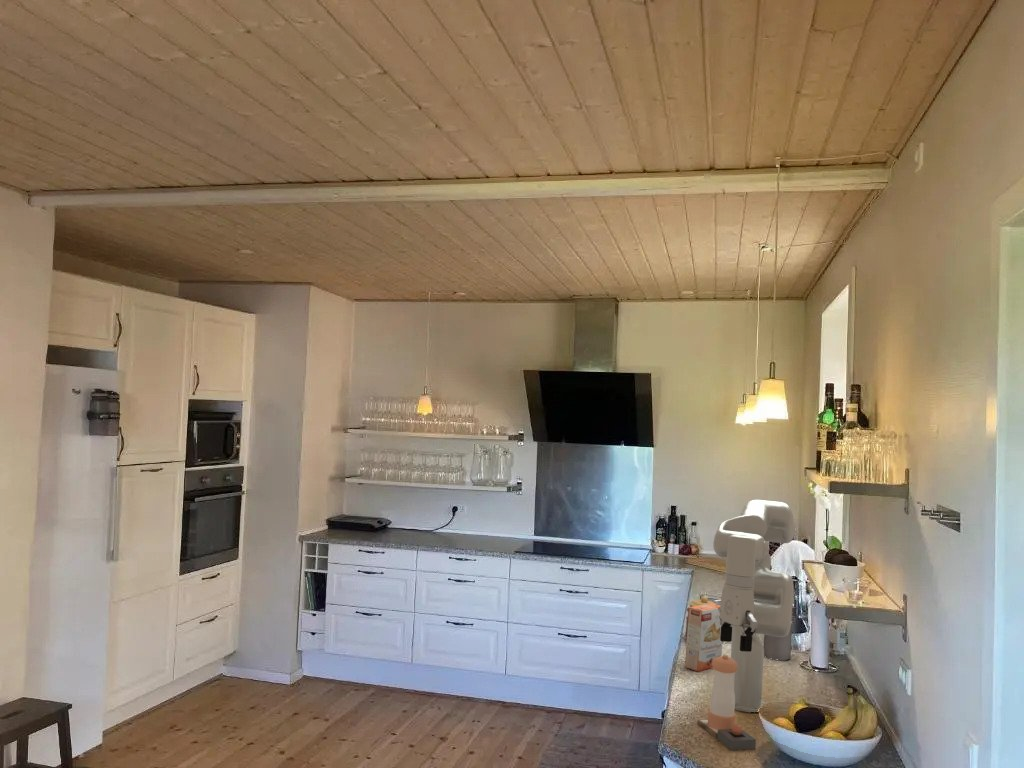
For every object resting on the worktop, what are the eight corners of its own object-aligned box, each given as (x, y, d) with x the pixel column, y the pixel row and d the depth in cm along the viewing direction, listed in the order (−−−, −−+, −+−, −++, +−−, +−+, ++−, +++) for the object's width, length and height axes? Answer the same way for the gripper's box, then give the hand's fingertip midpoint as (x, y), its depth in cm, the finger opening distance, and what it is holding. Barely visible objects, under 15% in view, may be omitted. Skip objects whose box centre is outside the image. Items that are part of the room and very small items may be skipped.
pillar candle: (767, 651, 293) (769, 611, 293) (793, 657, 287) (795, 616, 287) (759, 656, 285) (761, 616, 285) (786, 663, 279) (788, 621, 280)
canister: (706, 649, 290) (709, 601, 290) (678, 640, 299) (680, 594, 300) (725, 643, 298) (728, 598, 299) (697, 635, 308) (699, 590, 309)
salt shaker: (704, 725, 211) (708, 655, 212) (711, 718, 218) (716, 649, 218) (730, 733, 208) (735, 661, 208) (737, 725, 214) (742, 655, 215)
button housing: (717, 739, 206) (717, 729, 206) (740, 737, 208) (740, 728, 208) (731, 750, 199) (732, 740, 199) (755, 749, 201) (755, 739, 201)
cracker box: (698, 672, 261) (702, 610, 262) (684, 667, 265) (687, 606, 266) (722, 666, 270) (725, 606, 271) (707, 661, 275) (711, 602, 275)
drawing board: (697, 723, 216) (697, 719, 216) (725, 721, 218) (725, 717, 218) (716, 738, 206) (716, 734, 206) (745, 736, 209) (745, 732, 209)
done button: (729, 731, 204) (730, 723, 204) (738, 730, 205) (738, 723, 205) (735, 735, 202) (735, 727, 202) (743, 735, 203) (744, 727, 203)
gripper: (710, 575, 215) (706, 637, 214) (744, 587, 199) (740, 655, 197) (734, 576, 217) (730, 638, 216) (770, 588, 200) (766, 655, 199)
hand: (735, 646), depth 206 cm, fingers open, 9 cm apart
